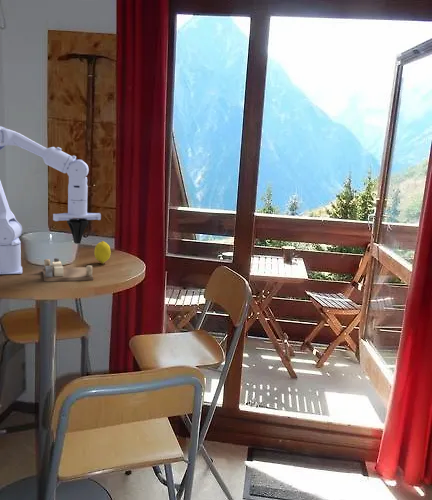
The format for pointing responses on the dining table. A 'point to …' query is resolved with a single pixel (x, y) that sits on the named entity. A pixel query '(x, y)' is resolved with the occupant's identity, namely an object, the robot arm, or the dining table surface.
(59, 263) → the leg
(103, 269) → the dining table surface
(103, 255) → the lemon
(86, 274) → the board
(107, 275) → the dining table surface
